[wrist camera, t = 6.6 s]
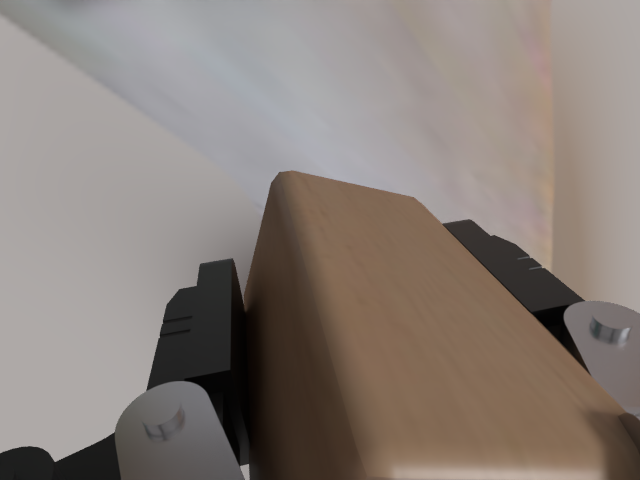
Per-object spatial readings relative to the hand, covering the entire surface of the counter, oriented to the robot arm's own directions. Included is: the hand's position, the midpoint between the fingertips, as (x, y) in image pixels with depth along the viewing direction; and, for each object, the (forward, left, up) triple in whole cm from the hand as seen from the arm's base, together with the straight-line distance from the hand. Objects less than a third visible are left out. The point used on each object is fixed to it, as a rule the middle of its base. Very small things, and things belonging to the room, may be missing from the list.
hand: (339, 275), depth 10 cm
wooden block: (0, 0, -2) cm, 2 cm away
